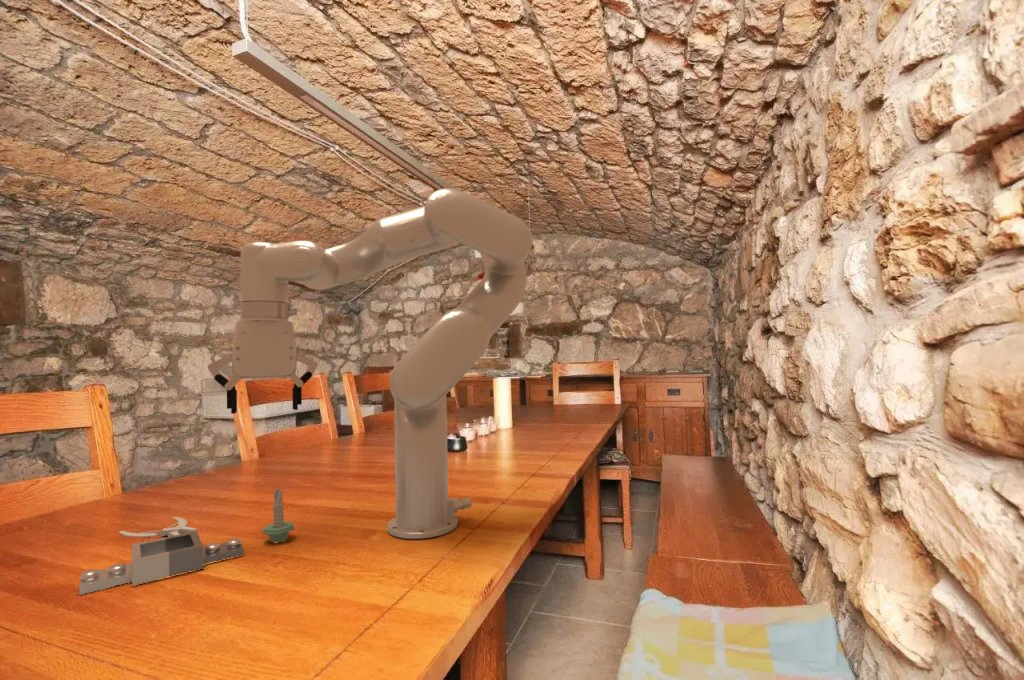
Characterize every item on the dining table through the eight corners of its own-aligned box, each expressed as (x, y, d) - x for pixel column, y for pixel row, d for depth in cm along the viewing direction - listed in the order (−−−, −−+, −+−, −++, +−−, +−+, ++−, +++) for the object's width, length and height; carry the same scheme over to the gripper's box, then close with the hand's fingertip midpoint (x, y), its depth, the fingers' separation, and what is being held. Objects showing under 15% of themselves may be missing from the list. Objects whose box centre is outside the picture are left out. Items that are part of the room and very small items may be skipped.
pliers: (176, 512, 101) (216, 523, 93) (176, 520, 101) (216, 532, 93) (117, 527, 92) (155, 541, 84) (117, 535, 92) (155, 550, 84)
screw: (255, 544, 85) (279, 534, 90) (278, 547, 83) (300, 537, 88) (255, 490, 85) (278, 483, 90) (277, 493, 84) (300, 485, 88)
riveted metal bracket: (236, 543, 86) (236, 523, 86) (245, 559, 79) (245, 536, 79) (82, 578, 73) (82, 554, 73) (78, 600, 67) (78, 573, 67)
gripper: (315, 316, 96) (316, 406, 95) (210, 314, 88) (210, 412, 87) (319, 313, 89) (319, 409, 88) (205, 310, 81) (205, 416, 81)
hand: (265, 410), depth 88 cm, fingers open, 9 cm apart
